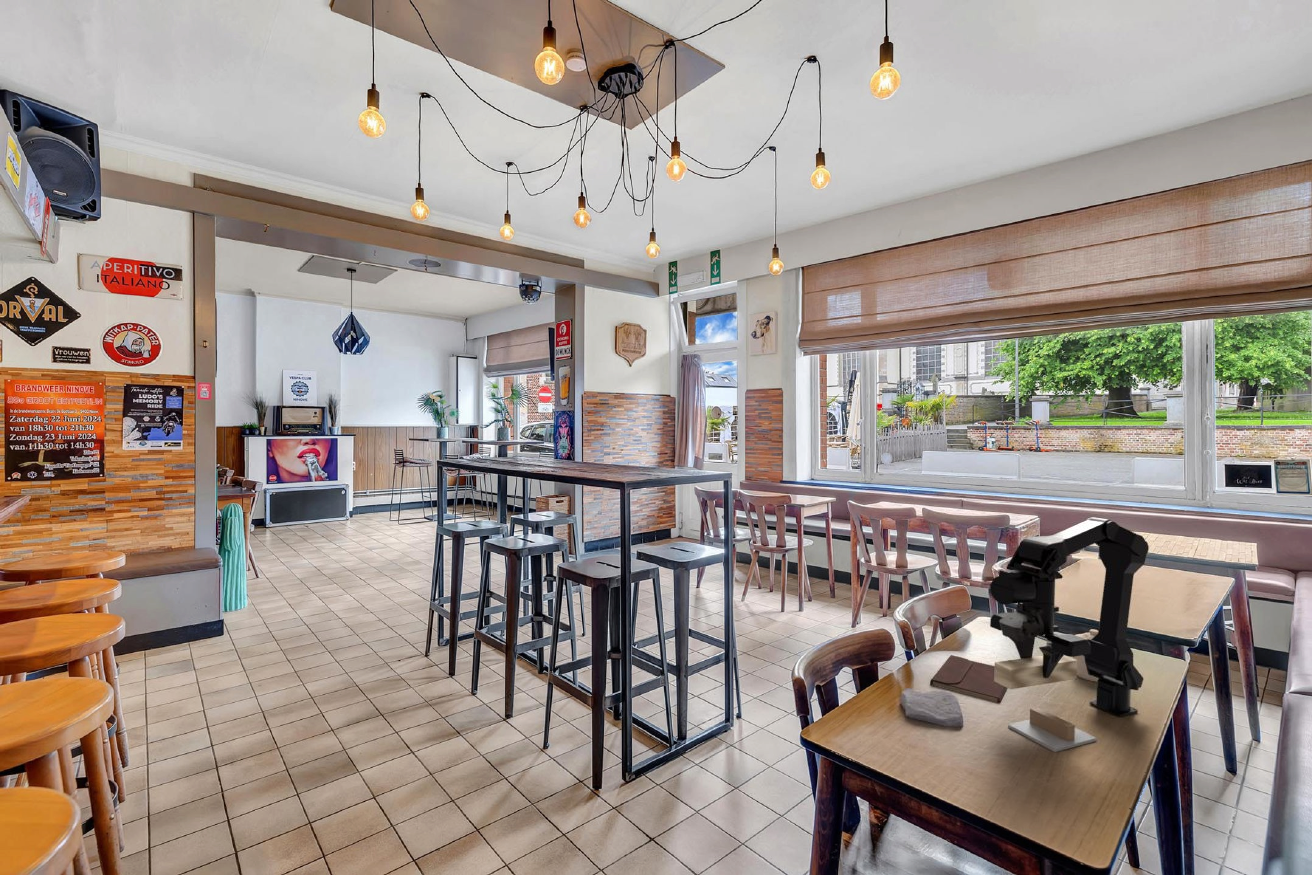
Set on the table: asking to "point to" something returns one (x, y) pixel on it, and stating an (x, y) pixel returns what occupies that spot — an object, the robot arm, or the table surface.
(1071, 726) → the fulcrum stand
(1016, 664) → the beech bar
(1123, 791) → the table surface
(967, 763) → the table surface
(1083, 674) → the teacup with lid
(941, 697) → the stone block
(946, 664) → the notebook
